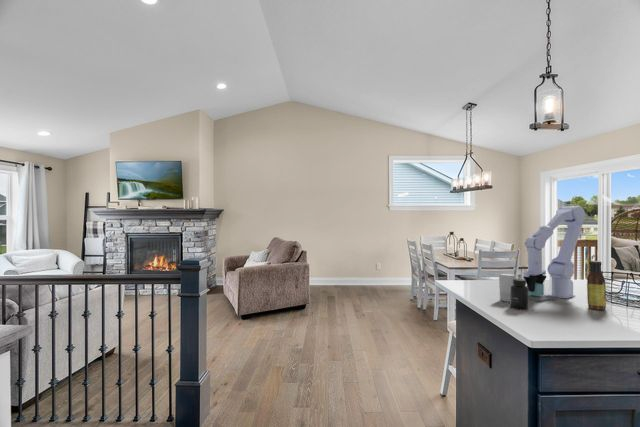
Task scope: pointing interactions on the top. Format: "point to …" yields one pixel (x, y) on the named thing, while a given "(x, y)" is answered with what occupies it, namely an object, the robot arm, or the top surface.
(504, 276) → the skincare box
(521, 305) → the supplement bottle
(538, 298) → the rubber mat
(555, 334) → the top surface
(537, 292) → the teal cube
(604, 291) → the sauce bottle
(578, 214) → the robot arm
